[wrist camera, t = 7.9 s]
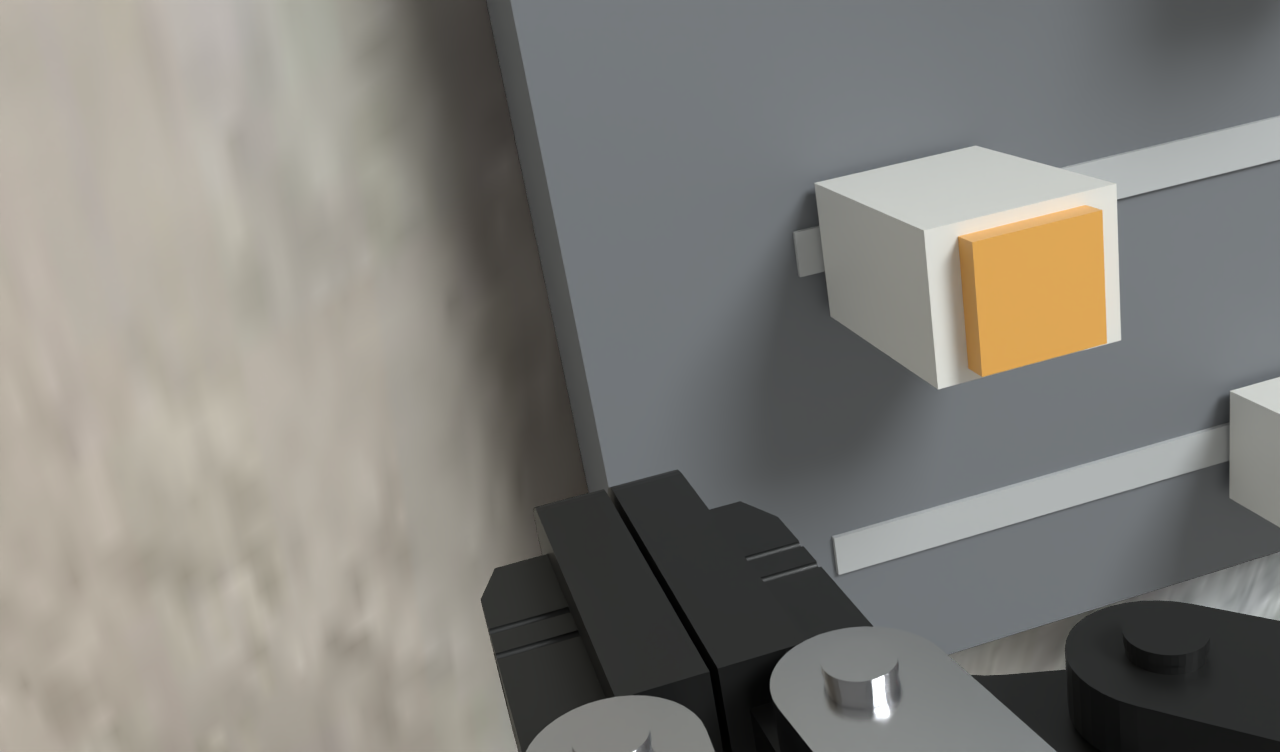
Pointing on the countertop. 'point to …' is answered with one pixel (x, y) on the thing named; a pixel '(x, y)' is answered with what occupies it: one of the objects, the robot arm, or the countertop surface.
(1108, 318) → the block
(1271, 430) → the breaker
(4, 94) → the countertop surface
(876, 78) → the grey flat slab
